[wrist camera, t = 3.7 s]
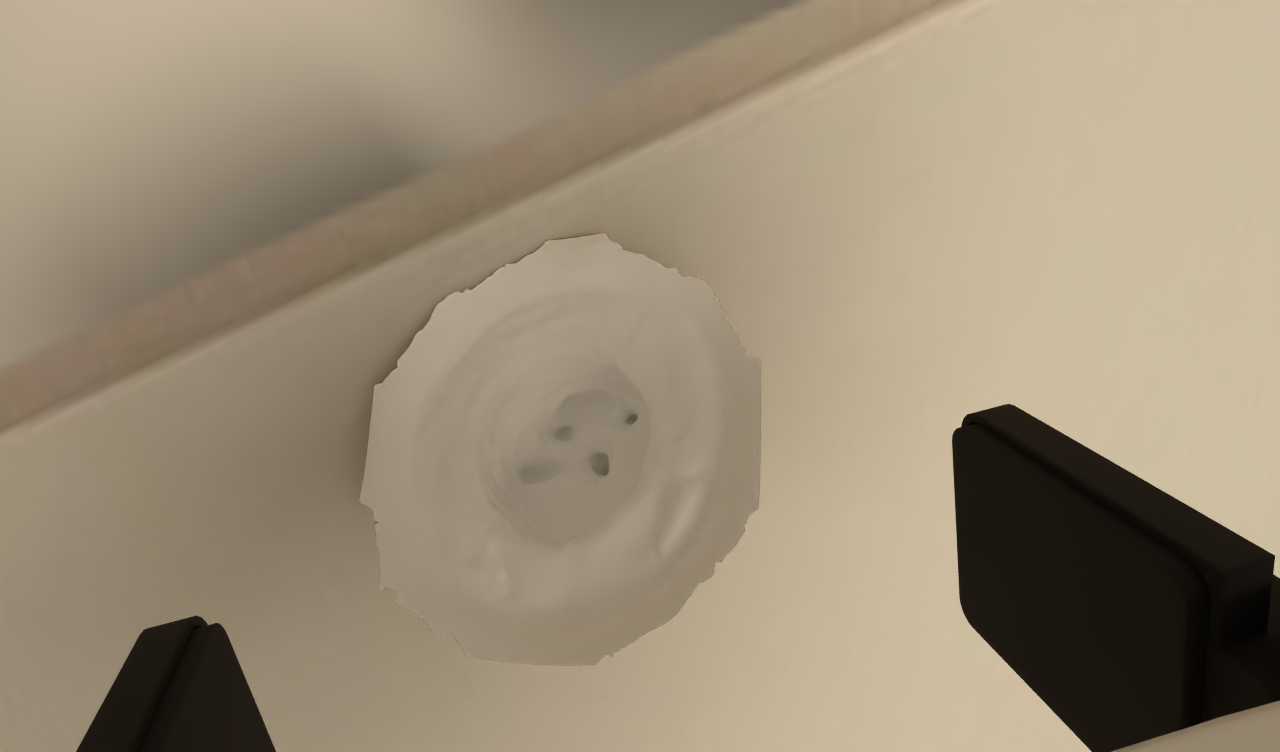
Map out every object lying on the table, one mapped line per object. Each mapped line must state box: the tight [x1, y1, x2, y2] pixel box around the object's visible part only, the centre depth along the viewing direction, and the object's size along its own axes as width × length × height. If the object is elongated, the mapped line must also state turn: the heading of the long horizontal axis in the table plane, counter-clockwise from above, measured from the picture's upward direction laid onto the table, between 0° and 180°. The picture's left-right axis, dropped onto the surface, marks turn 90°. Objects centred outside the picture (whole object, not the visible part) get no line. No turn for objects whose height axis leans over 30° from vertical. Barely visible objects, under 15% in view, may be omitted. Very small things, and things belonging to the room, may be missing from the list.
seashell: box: [359, 233, 761, 666], centre depth 17 cm, size 8×5×8 cm
